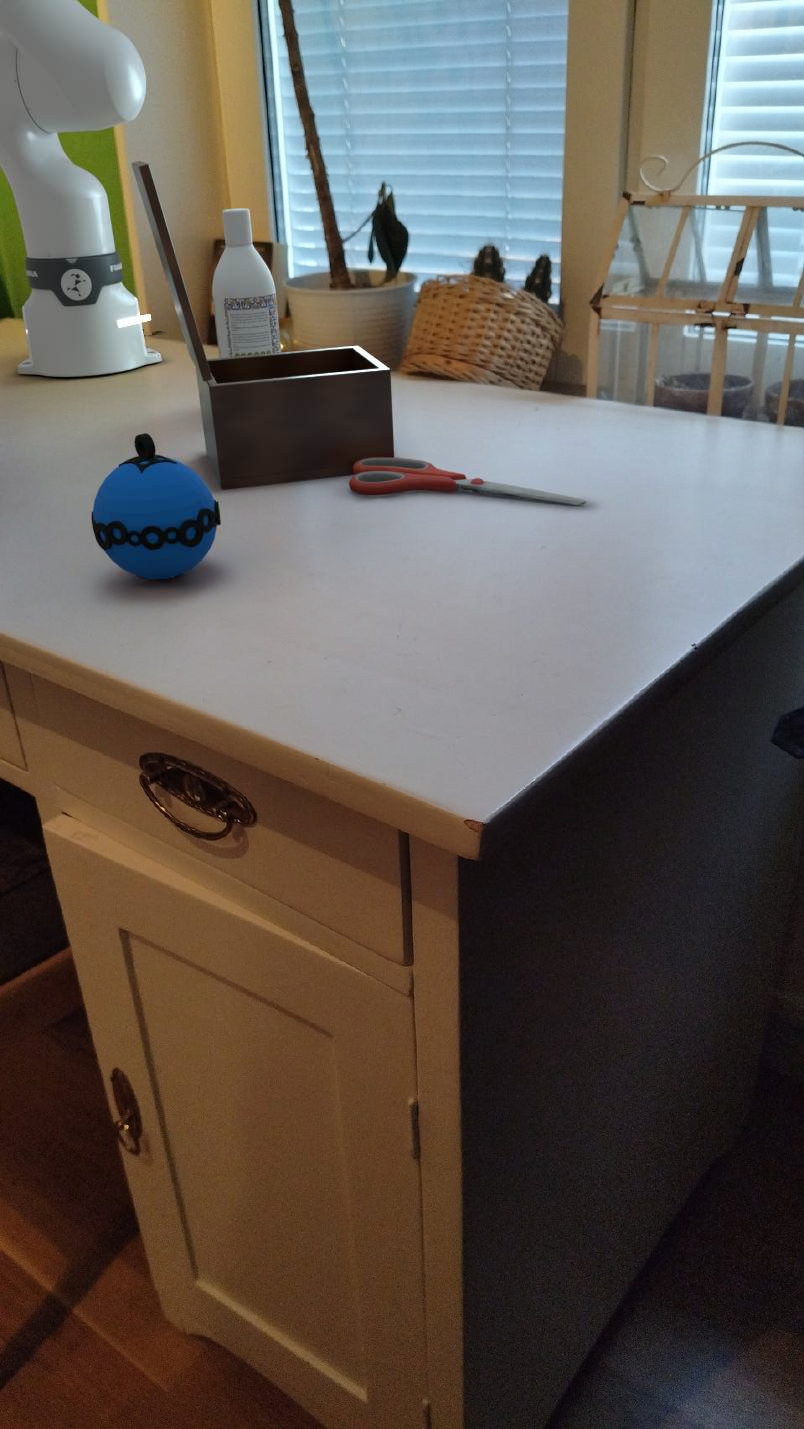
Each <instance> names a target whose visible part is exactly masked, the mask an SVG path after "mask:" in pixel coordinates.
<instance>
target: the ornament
mask: <svg viewBox="0 0 804 1429" xmlns="http://www.w3.org/2000/svg"><path fill="white" fill-rule="evenodd" d="M133 442H134V443H133V444H134V450H135V452H136V453H137V455H136V456H134V457H131V458H129V459H126V460H124V461H123V462H121V463H119V464H118V466H117V467H115V468H114V469H113V470H112V471H111V472H110V473H109V474H108V475H107V476H106V477H105V478H104V480H103V482H102V483H101V484H100V486H99V488H98V490H97V493H96V495H95V498H94V500H93V508H92V511H91V514H90V515H91V516H90V517H91V526H92V531H93V534H94V538H95V541H96V543H97V545H98V546H99V548H101V549H102V550H103V552H104V553H105V555H107V556H108V558H109V559H110V560H111V561H112V562H113V563H114V564H115V565H117V566H118V567H119V569H122V570H123V571H125V572H127V573H129V574H131V575H133V576H135V577H137V578H141V579H145V580H156V581H166V580H170V579H173V578H179V577H182V576H183V575H184V574H186V573H187V572H189V571H192V570H193V569H194V568H195V567H196V566H198V564H200V563H201V562H202V561H203V560H204V559H205V557H206V556H207V554H208V553H209V552H210V550H211V548H212V546H213V544H214V542H215V539H216V533H217V529H218V526H221V525H222V520H221V512H220V511H221V510H220V504H219V501H217V500H216V499H214V496H213V494H212V492H211V490H210V488H209V486H208V485H207V483H206V482H205V480H203V478H202V476H200V475H199V474H198V473H197V472H195V470H194V469H192V468H191V467H190V466H188V465H186V464H185V463H183V462H182V461H179V460H176V459H173V458H170V457H167V456H165V455H160V454H157V453H156V452H157V450H156V445H155V441H154V439H153V437H152V436H151V435H150V434H149V433H146V432H145V433H139V434H136V435H135V437H134V441H133Z"/></svg>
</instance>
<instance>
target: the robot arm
mask: <svg viewBox="0 0 804 1429" xmlns="http://www.w3.org/2000/svg"><path fill="white" fill-rule="evenodd" d="M146 93H147V76H146V71H145V66H144V63H143V60H142V58H141V56H140V54H139V52H138V50H137V48H136V46H135V45H134V44H133V42H132V41H131V40H130V38H128V36H127V35H126V34H124V32H122V31H121V30H119V29H117V28H115V27H114V26H112V25H110V24H108V23H106V22H104V21H103V20H101V19H100V18H98V17H97V16H96V15H94V14H93V13H92V12H90V11H89V9H87V8H86V7H85V6H83V4H81V2H80V1H78V0H0V169H1V170H2V172H3V174H4V175H5V177H6V180H7V182H8V184H9V186H10V189H11V191H12V195H13V198H14V201H15V205H16V209H17V213H18V217H19V222H20V225H21V232H22V236H23V240H24V245H25V251H26V255H27V256H26V257H25V258H24V264H25V274H26V277H27V281H28V286H29V287H30V288H31V293H30V295H29V297H28V299H27V300H26V301H25V302H24V305H22V307H21V312H22V320H23V321H22V322H23V324H24V329H25V337H26V343H27V348H28V354H29V357H27V358H25V359H24V360H23V361H22V362H20V363H19V364H18V365H17V374H20V375H39V376H44V377H54V378H55V377H57V378H58V377H60V378H62V377H63V378H67V377H68V378H71V377H72V378H73V377H74V378H75V377H90V376H99V375H100V376H101V375H108V374H113V373H114V374H115V373H120V372H124V371H129V370H133V369H136V368H140V367H142V366H145V365H150V364H154V363H155V364H156V363H159V362H162V361H163V358H162V355H161V353H160V352H159V351H157V350H155V349H153V348H151V347H149V348H146V346H147V345H146V341H145V334H144V329H143V328H144V327H143V323H145V322H149V321H151V320H152V317H151V314H150V313H148V314H144V315H141V311H140V305H139V300H138V298H137V297H136V296H135V295H134V294H133V293H131V292H130V291H129V290H128V289H127V288H126V287H125V286H124V284H123V280H124V274H123V263H122V261H121V256H120V252H118V250H116V244H115V240H114V233H113V226H112V219H111V218H112V217H111V213H110V212H111V211H110V207H109V206H110V205H109V200H108V194H107V191H106V189H105V188H104V186H103V184H102V183H101V181H100V180H99V179H98V178H97V177H96V176H95V175H93V174H92V173H91V172H90V171H88V170H86V169H84V168H82V167H80V166H78V165H76V164H75V163H73V162H72V160H71V159H70V158H69V157H68V155H67V154H66V152H65V150H64V149H63V147H62V145H61V141H60V139H59V136H58V133H76V132H78V133H79V132H95V131H103V130H106V129H110V128H113V127H117V126H120V125H123V124H126V123H130V122H132V121H134V120H135V119H136V118H137V117H138V115H139V113H140V112H141V110H142V107H143V106H144V103H145V98H146ZM145 345H146V346H145ZM150 352H153V353H150ZM158 355H159V356H158Z"/></svg>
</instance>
